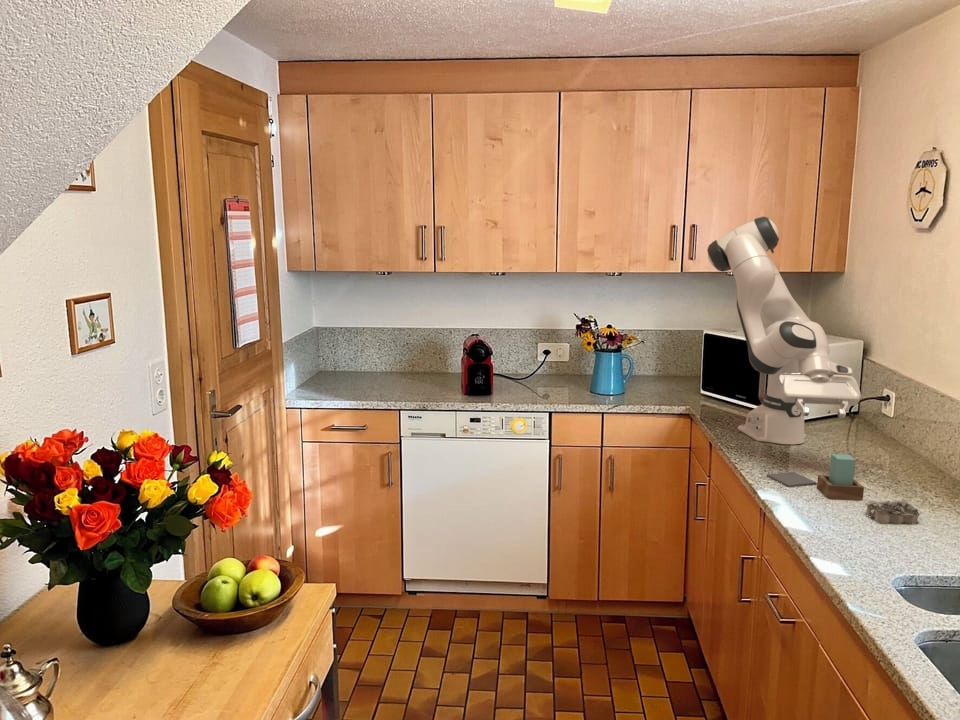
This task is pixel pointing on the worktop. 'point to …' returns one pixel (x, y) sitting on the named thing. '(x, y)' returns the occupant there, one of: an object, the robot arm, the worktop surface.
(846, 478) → the teal block
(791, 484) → the rubber mat
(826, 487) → the pocket holder
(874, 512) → the egg carton
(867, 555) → the worktop surface
